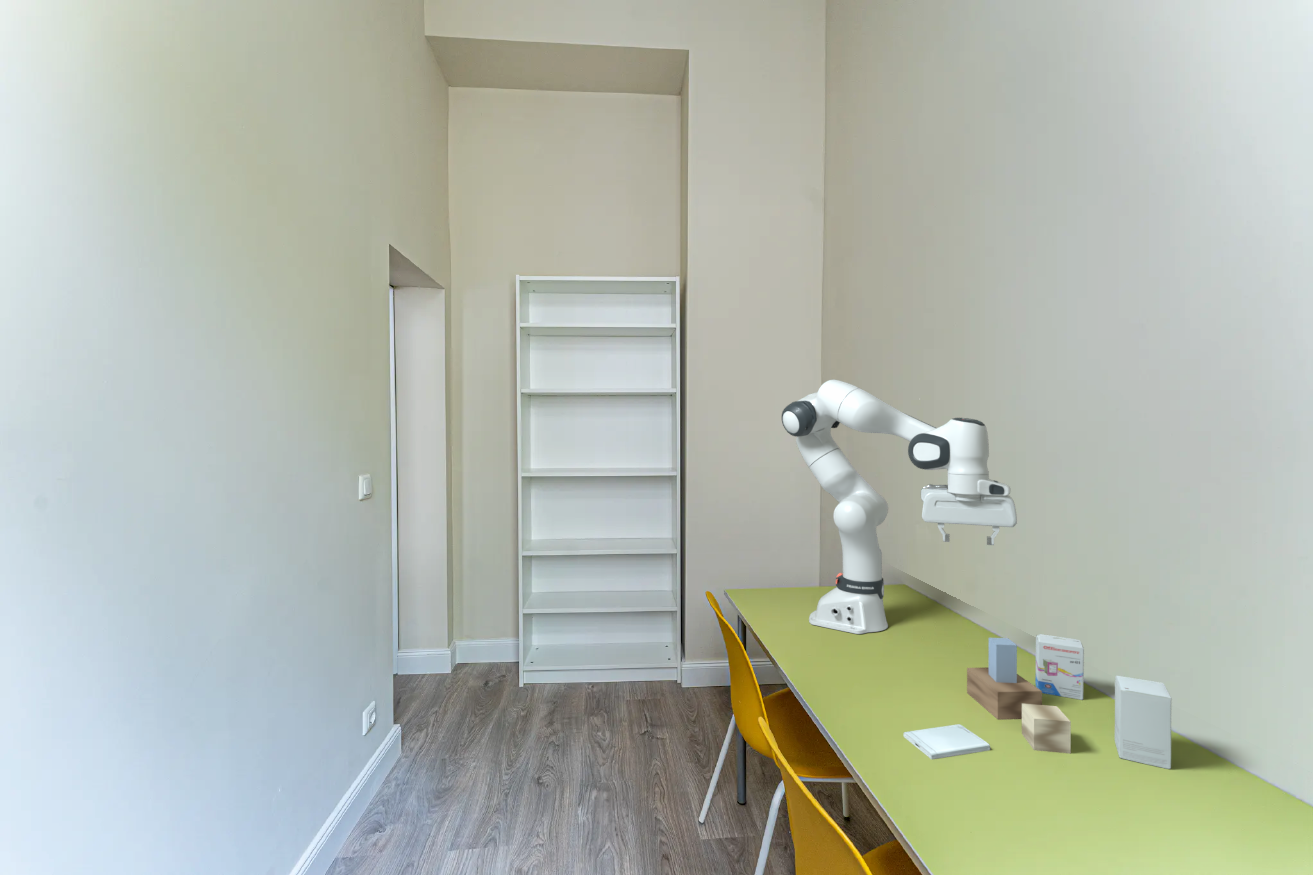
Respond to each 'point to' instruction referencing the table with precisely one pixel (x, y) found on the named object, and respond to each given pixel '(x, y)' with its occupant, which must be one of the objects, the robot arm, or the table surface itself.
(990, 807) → the table surface
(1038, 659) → the ink box
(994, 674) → the slate post
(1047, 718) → the maple cube
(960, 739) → the hard drive
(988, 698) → the walnut block
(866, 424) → the robot arm
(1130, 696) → the supplement box
